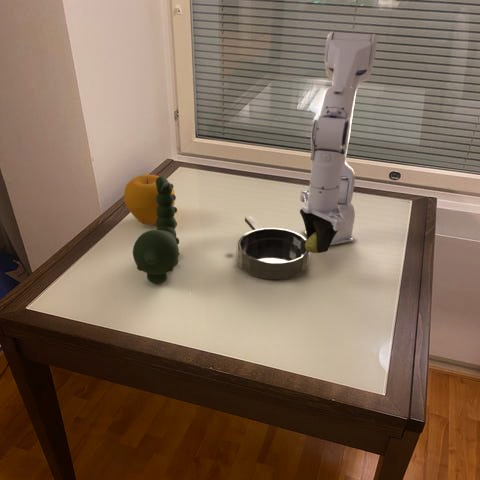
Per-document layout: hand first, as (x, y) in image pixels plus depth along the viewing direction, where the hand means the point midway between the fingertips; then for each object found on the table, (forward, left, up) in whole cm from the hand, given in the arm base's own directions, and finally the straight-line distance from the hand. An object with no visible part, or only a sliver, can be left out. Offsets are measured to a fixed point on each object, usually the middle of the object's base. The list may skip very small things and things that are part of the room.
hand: (317, 246), depth 103 cm
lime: (0, 0, -2) cm, 2 cm away
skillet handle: (+5, -21, -5) cm, 23 cm away
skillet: (+5, -10, -8) cm, 14 cm away
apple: (+26, -40, -9) cm, 49 cm away
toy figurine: (+29, -17, -9) cm, 35 cm away
